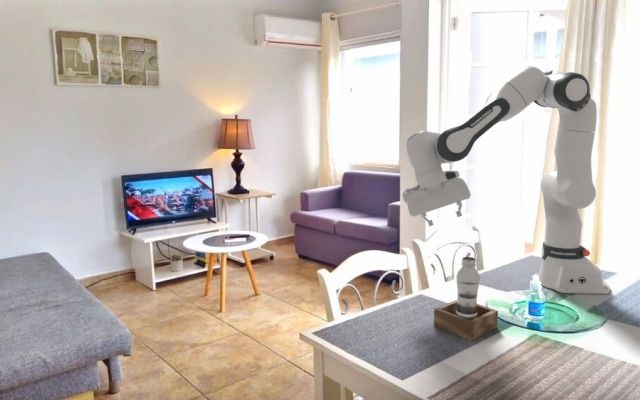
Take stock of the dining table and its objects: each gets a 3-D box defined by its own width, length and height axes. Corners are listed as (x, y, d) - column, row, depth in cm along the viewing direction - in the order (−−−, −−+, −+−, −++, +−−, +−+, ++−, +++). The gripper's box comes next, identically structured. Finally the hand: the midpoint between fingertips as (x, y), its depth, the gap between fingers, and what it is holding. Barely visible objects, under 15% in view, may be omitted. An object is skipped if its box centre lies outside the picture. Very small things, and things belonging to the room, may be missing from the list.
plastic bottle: (475, 321, 145) (478, 255, 141) (479, 331, 138) (483, 262, 135) (452, 320, 146) (455, 254, 142) (456, 331, 139) (458, 262, 135)
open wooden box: (460, 313, 150) (460, 298, 149) (497, 327, 141) (498, 310, 140) (433, 325, 143) (434, 308, 142) (471, 340, 133) (471, 323, 132)
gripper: (400, 190, 160) (414, 231, 159) (463, 169, 157) (477, 211, 157) (400, 191, 166) (414, 230, 166) (460, 170, 163) (474, 210, 163)
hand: (445, 221), depth 161 cm, fingers open, 8 cm apart
